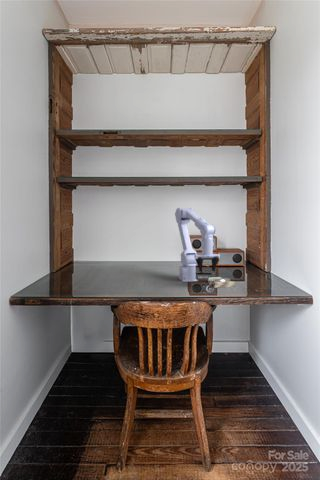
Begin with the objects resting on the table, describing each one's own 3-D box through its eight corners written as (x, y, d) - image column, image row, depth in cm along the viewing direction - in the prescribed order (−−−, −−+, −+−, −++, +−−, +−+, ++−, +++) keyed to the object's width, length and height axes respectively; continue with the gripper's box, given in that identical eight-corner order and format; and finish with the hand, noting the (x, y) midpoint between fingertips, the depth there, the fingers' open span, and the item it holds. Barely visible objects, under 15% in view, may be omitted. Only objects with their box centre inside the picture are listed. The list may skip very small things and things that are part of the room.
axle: (215, 286, 172) (215, 279, 172) (212, 285, 176) (212, 278, 176) (230, 285, 175) (230, 278, 175) (227, 284, 178) (226, 277, 179)
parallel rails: (214, 287, 170) (214, 283, 170) (209, 284, 177) (209, 280, 177) (234, 286, 173) (234, 281, 173) (228, 283, 180) (228, 279, 180)
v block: (211, 283, 179) (211, 279, 179) (207, 281, 183) (208, 277, 183) (224, 282, 181) (224, 278, 181) (220, 281, 186) (220, 276, 185)
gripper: (198, 247, 165) (197, 273, 166) (222, 247, 169) (222, 271, 170) (193, 246, 171) (192, 270, 173) (216, 245, 176) (216, 269, 177)
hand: (207, 271), depth 172 cm, fingers open, 7 cm apart
